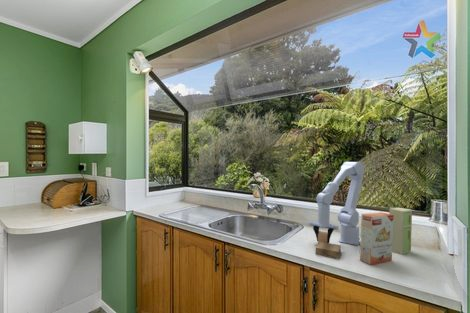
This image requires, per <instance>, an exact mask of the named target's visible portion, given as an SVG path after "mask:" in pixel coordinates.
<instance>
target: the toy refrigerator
mask: <svg viewBox="0 0 470 313" xmlns="http://www.w3.org/2000/svg"><path fill="white" fill-rule="evenodd" d="M388 212H389V213H388V214H392V215H394V217H393V242H392V252H394V253H397V254H400V255H406V254H409V253H411V252H412V228H413V227H412V222H413V221H412V219H413V209H411V208H410V209H409V208H404V207H391V208H389V211H388Z"/></svg>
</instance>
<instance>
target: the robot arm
mask: <svg viewBox="0 0 470 313" xmlns="http://www.w3.org/2000/svg"><path fill="white" fill-rule="evenodd" d="M365 169H366V168H365V165H364V164H363V163H362V161H344V162H343V163H342V165H341V166H340V171H339V172H338V174H337V175H336V176H335V178H334V179H333V180H332V181H329V182H328V183H327V184H326V186H325V188H324V189H322V191H321V192H319V193H318V194H317V195H316V197H315V200H316V201H315V202H317V221H309V222H308V224H309V225H308V226H309V227H312V229H313V232H314V234H315V237H316V241H317V242H318V233H319V231H320V228H322V229H327V232H328V240H327V243H330V241H331V237H332V234H333V232H334V230H336V231H339V225H337V224H332V223H330V218H331V217H330V212H331V211H330V209H331V206H330V205H331V204H332V203H333V201H334V196H335V195H336V193H337V192H338V191H339V189H340V187H339V186H340V185H341V184H342V182H343V181H344V180H346V178H347V177H349V178H350V184H349V189H348V192H347V197H346V200H345V205H344V206H343V207H342V208H340V211H339V213H338V214H337V221H338V222H339V224H340V237H339V239H338V240H339V241H338V242H339V243H344V244H349V245H356V246H359V245H360V244H359V243H360V242H361V237H360V226H358V224H359V222H360V219H359V216H360V214H359V212H358V211H357V205H358V201H359V197H360V192H361V188H362V184H363V180H364V173H365Z"/></svg>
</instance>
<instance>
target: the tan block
mask: <svg viewBox="0 0 470 313" xmlns="http://www.w3.org/2000/svg"><path fill="white" fill-rule="evenodd" d="M327 240H328V231H323V230H322V231H321V230H319V233H318V241H317V244H318V243H319V241H320V242H325V243H327Z"/></svg>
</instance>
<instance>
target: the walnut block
mask: <svg viewBox="0 0 470 313" xmlns="http://www.w3.org/2000/svg"><path fill="white" fill-rule="evenodd" d="M341 248H342V247H341V244H336V243H330V242H329V243H325V242H320V241H319V243H318V242H317V244H316V246H315V255H319V256H324V257H328V258H333V259H339V258H340V255H341Z"/></svg>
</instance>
